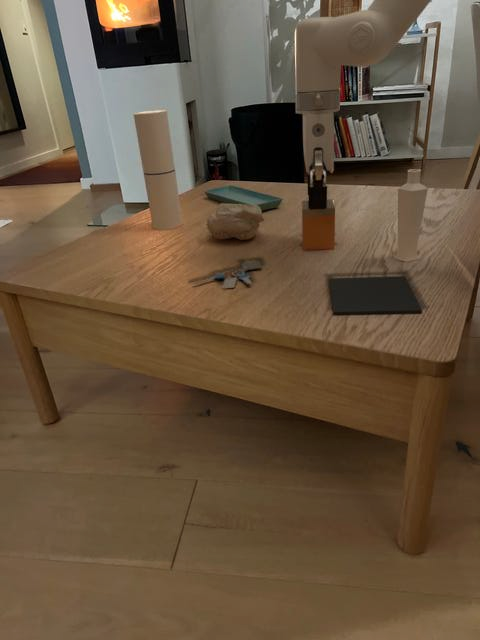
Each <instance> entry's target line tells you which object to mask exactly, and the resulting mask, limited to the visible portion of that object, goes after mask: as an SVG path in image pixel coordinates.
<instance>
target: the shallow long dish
mask: <svg viewBox="0 0 480 640" xmlns="http://www.w3.org/2000/svg"><path fill="white" fill-rule="evenodd" d="M203 193H204V194H205V196H207V198H208V199H211V200H214V201H216V202H220V203H222V204H246V205H257V206H259V207H260V208H261V211H262V212H263V211H266V210H271V209H275V208H279V206H280V205H281V203H282V201H283V199H284V198H283V197H279V196H275V195H272V194H267V193H263V192H259V191H255V190H252V189H248V188H244V187H241V186H237V185H232V184H228V185H224V186H219V187H213V188H210V189H205V190H203Z"/></svg>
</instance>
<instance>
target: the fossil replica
mask: <svg viewBox="0 0 480 640" xmlns="http://www.w3.org/2000/svg"><path fill="white" fill-rule="evenodd" d="M264 221H265V217H264V216H263V211H261V208H260V207H259V206H257V205H246V204H226V203H219V205H218V206H217V208H216V210H215V212H214V213H212V214H210V215H209V217H207V220H206V226H207V227H206V229H207V230H208V232H209V234H211V236H212V237H214V238H215V239H219V240H221V241H222V240H229V239H232V238H235V239H237V240H240V241H244V240H245V241H247V240H250V239H252V238H253V237H255V236H256V234H257V232H258V229H260V223H261V222H264Z"/></svg>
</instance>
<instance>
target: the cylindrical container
mask: <svg viewBox="0 0 480 640" xmlns="http://www.w3.org/2000/svg"><path fill="white" fill-rule="evenodd" d="M168 116H169V115H168V110H167V109H161V110H160V109H158V110H148V111H139V112H134V113H133V119H134V126H135V132H136V136H137V142H138V148H139V155H140V160H141V161H140V162H141V166H142V167H141V168H142V173H143V178H144V184H145V189H146V196H147V201H148V202H147V203H148V206H149V213H150V218H151V225H152V228H153V230H158V231H168V230H173V229H177V228H180V227H182V226H183V218H182V209H181V203H180V196H179V188H178V181H177V174H176V166H175V158H174V153H173V152H174V151H173V145H172V139H171V130H170V123H169V118H168Z"/></svg>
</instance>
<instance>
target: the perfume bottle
mask: <svg viewBox="0 0 480 640" xmlns="http://www.w3.org/2000/svg"><path fill="white" fill-rule="evenodd" d="M421 172H422V170H421V169H420V168H410V169H408V170H407V181H406V182H405V183H404V184H403V185H401V186H400V187H398V188H397V251H396V252H395V256H394V260H395V259H396V260H397V261H398V260H399V261H402V262H404V263H407V262H413V261H418V260H419V256H418V251H417V250H418V245H419V239H420V234H421V227H422V222H423V217H424V211H425V205H426V202H427V201H426V200H427V195H428V190H429V187H426V186H425V185H424V184H422V183H421V182H420V180H421Z"/></svg>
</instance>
